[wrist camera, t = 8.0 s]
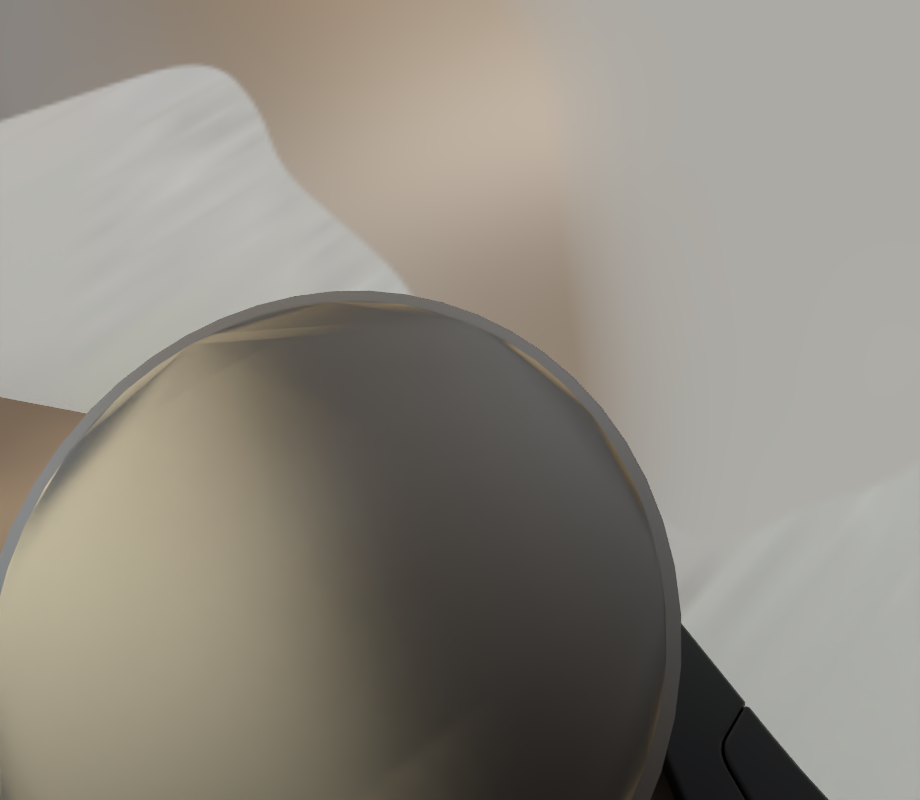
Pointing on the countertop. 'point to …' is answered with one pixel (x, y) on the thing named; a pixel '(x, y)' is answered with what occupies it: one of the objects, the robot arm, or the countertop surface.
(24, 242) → the countertop surface
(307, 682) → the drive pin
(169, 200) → the countertop surface
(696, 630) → the countertop surface
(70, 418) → the sprocket board
